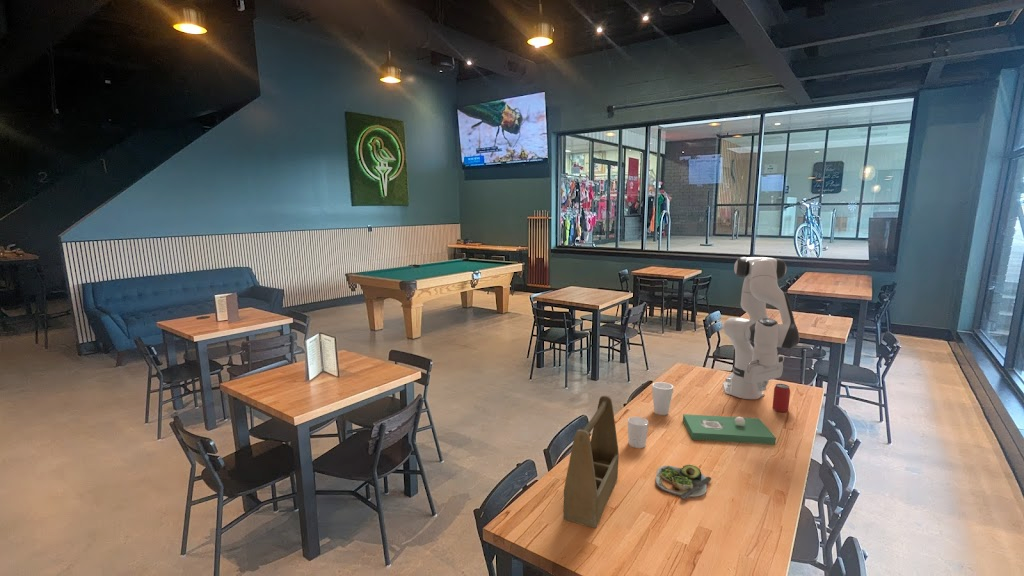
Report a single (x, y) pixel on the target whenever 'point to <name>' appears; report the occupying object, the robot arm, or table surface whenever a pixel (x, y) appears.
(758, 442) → the green rectangular slab
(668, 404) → the foam cup
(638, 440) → the white cup
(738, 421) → the ball
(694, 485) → the avocado toast plate
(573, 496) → the caddy
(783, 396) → the beer can
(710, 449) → the table surface
